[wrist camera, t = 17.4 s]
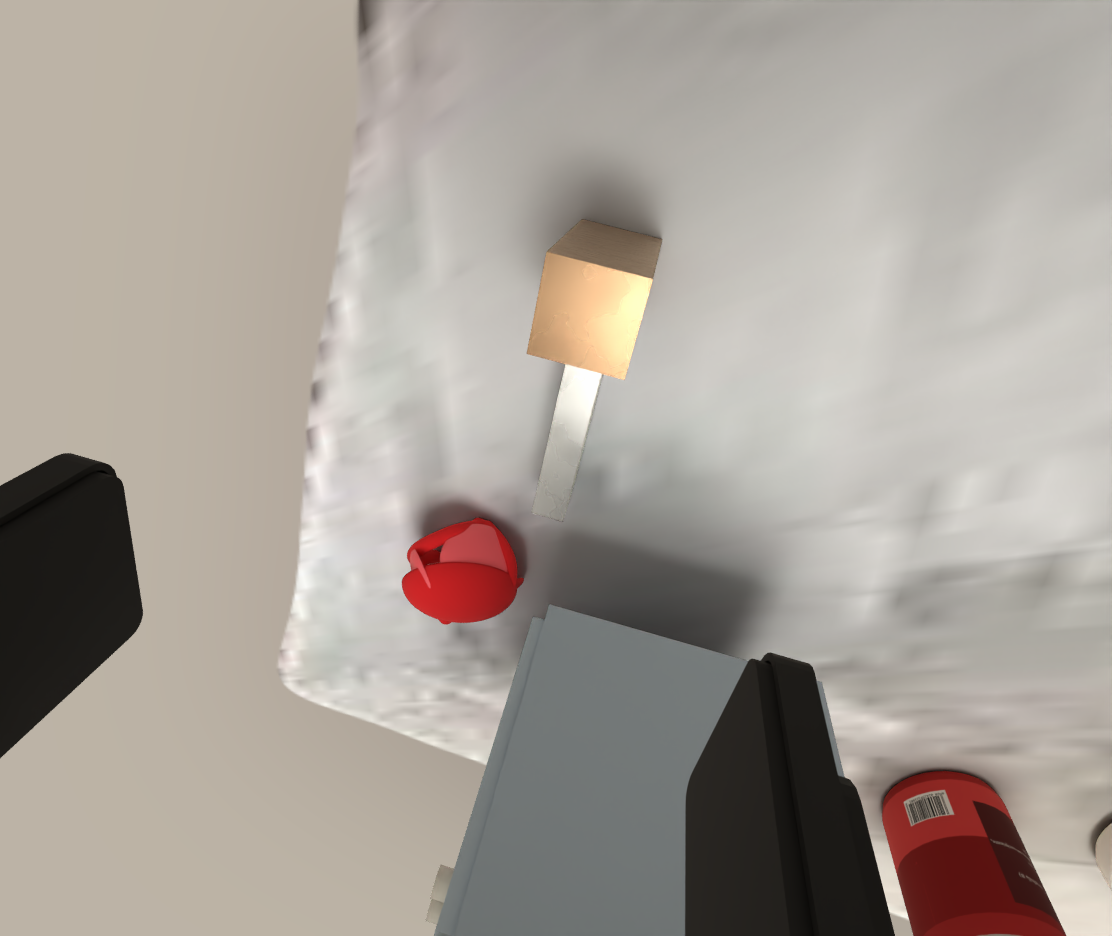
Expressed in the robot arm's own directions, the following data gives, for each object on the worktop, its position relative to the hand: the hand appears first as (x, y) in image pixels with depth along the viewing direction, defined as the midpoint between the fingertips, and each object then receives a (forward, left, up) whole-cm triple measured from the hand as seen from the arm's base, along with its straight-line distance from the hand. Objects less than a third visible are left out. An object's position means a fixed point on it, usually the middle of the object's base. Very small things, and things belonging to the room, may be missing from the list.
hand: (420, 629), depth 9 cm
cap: (+19, -4, -27) cm, 33 cm away
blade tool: (+5, 0, -26) cm, 27 cm away
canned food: (+30, +32, -26) cm, 51 cm away
